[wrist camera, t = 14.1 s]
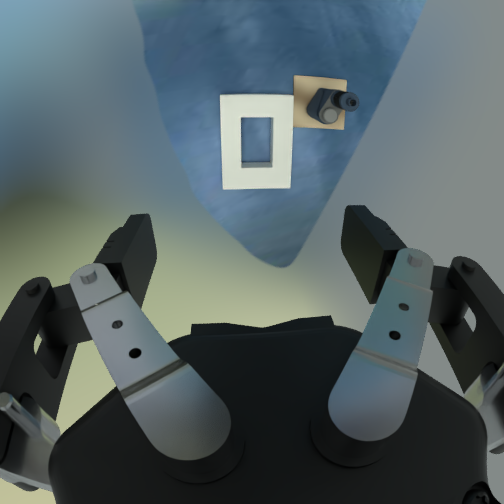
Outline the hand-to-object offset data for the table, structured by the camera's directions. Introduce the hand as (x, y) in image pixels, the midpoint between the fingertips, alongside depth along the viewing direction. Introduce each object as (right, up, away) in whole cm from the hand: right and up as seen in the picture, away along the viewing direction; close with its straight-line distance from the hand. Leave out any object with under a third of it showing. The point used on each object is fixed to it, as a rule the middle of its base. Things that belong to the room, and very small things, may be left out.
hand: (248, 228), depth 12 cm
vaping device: (+10, +21, +28) cm, 37 cm away
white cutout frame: (+1, +16, +31) cm, 35 cm away
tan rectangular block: (+10, +21, +29) cm, 37 cm away
